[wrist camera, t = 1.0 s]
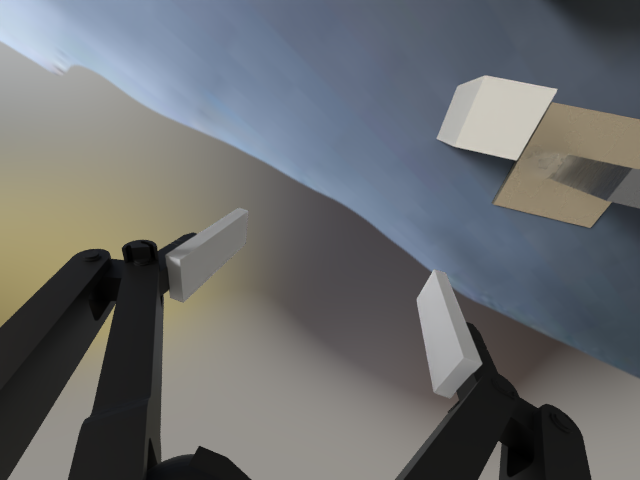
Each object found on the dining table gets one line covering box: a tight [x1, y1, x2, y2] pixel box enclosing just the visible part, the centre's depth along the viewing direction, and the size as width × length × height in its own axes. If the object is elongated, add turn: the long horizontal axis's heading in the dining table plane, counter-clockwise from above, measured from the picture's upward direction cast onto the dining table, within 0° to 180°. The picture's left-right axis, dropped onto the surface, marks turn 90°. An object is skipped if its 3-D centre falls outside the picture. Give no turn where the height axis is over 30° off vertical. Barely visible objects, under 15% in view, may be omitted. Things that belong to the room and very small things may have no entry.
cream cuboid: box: [437, 76, 558, 161], centre depth 25 cm, size 6×6×9 cm
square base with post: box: [492, 102, 640, 228], centre depth 25 cm, size 12×12×9 cm
